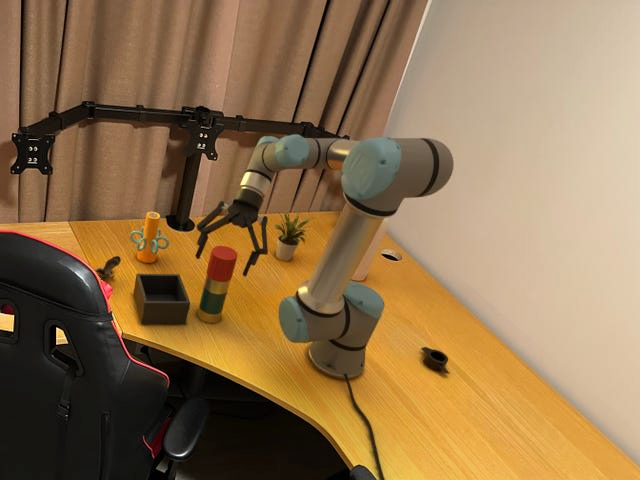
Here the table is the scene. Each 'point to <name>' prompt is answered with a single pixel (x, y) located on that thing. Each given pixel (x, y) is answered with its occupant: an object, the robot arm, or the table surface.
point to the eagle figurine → (108, 268)
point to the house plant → (289, 237)
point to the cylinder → (149, 239)
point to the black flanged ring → (435, 359)
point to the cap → (221, 263)
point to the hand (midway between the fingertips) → (220, 266)
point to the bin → (161, 299)
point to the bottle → (370, 253)
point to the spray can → (212, 300)
